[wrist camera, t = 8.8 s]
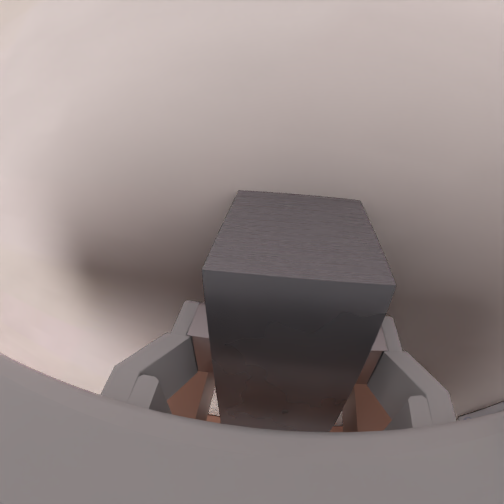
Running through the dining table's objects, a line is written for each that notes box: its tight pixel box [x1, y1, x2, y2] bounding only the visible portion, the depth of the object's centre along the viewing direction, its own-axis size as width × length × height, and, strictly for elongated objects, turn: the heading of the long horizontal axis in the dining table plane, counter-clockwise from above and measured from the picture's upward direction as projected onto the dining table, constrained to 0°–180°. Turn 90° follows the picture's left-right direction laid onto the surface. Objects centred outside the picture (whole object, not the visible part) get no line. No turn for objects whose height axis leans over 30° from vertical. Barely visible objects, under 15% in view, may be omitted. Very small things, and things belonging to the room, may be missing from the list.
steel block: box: [202, 190, 396, 432], centre depth 13 cm, size 4×18×5 cm, turn 179°
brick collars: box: [167, 371, 392, 432], centre depth 13 cm, size 11×9×9 cm
